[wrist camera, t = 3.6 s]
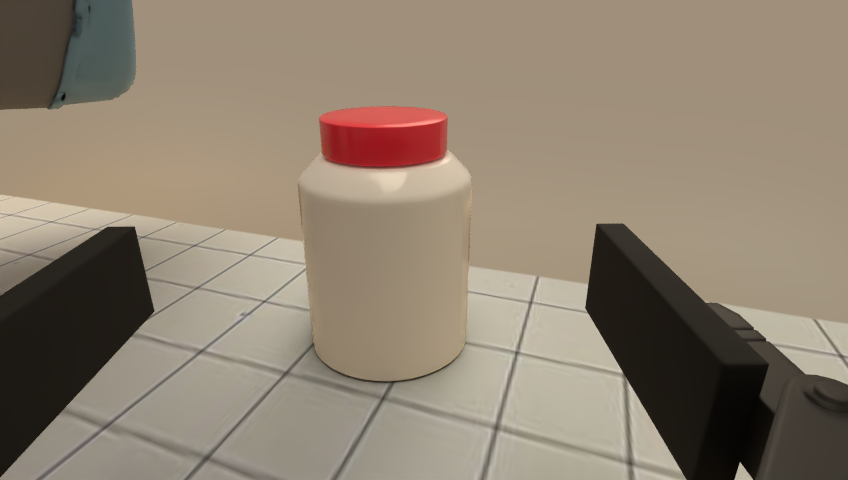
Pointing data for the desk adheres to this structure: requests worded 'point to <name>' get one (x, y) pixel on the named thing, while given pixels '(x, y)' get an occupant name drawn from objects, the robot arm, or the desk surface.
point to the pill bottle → (386, 243)
